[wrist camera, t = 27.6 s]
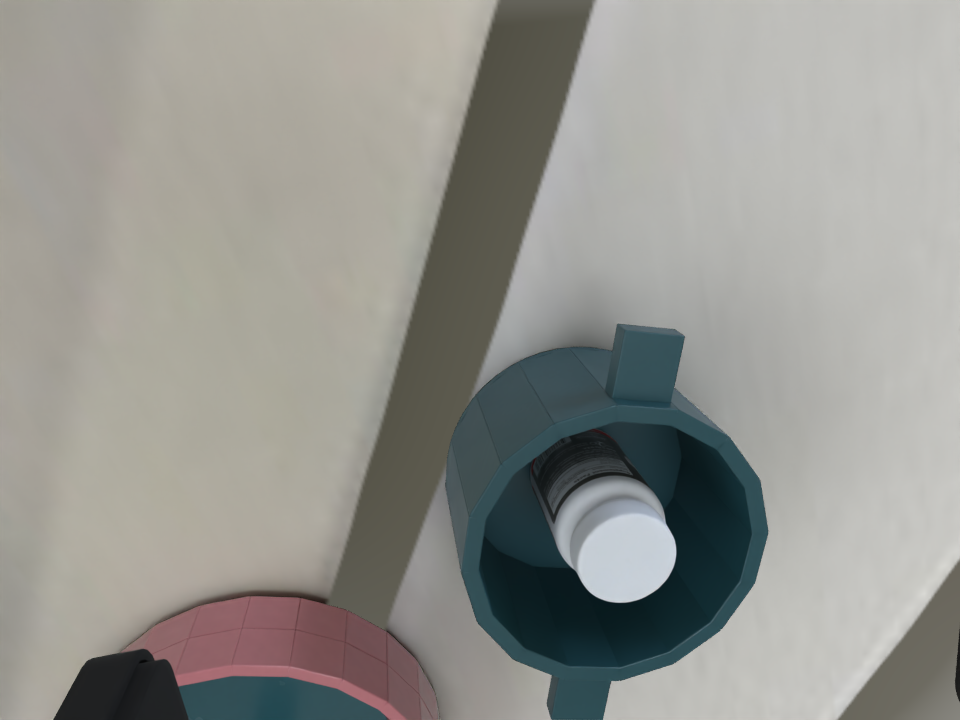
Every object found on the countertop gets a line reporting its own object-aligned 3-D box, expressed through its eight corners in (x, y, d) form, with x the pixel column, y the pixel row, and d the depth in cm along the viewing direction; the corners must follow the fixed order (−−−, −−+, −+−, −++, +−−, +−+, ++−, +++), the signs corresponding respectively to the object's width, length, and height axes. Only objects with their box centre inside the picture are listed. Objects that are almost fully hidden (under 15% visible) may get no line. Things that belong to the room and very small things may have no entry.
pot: (427, 613, 39) (438, 732, 31) (469, 278, 34) (495, 322, 26) (652, 620, 41) (715, 734, 33) (724, 304, 36) (817, 352, 28)
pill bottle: (623, 503, 38) (687, 603, 30) (531, 516, 37) (572, 622, 29) (621, 416, 36) (687, 498, 28) (525, 429, 36) (566, 515, 28)
